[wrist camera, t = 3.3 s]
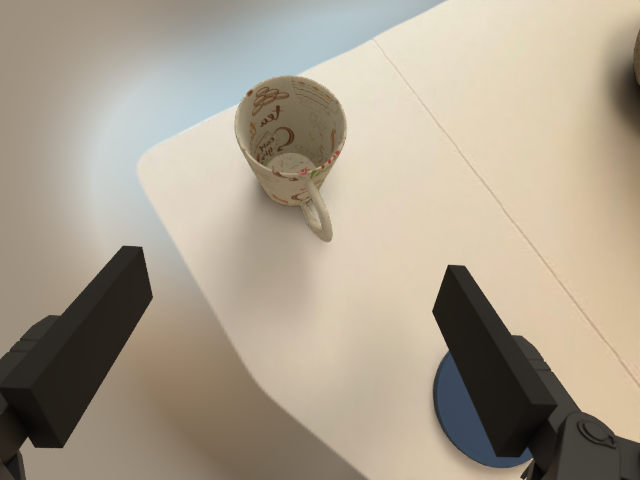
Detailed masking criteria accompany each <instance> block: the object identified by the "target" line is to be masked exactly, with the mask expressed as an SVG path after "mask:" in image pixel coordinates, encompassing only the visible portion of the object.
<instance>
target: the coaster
mask: <svg viewBox="0 0 640 480" xmlns="http://www.w3.org/2000/svg"><path fill="white" fill-rule="evenodd" d="M434 404H435V409H436V413H437V416H438V419H439V422H440V424H441V426H442V428H443V430H444V432H445V434H446V435H447V437H448V438H449V439H450V441H451V442H452V443H453V444H454V445H455V446H456V447H457V448H458V449H459V450H460V451H461V452H463V453H464V454H465V455H467V456H468V457H469V458H471V459H473V460H474V461H476V462H478V463H481V464H483V465H486V466H490V467H495V468H510V467H514V466H518V465H520V464H523V463H525V462H527V461H528V460H530V459H532V458H533V456H532V454H531V452H530V451H529V449H528V447H527V448H526V450H525V451H524V452H523V454H522V455H521V457H520V458H515V457H496V455H495V452H494V450H493V448H492V446H491V443H490V441H489V439H488V437H487V434H486V432H485V430H484V428H483V425H482V423H481V421H480V419H479V416H478V414H477V412H476V409H475V407H474V405H473V403H472V400H471V398H470V396H469V394H468V391H467V389H466V387H465V385H464V382H463V380H462V378H461V376H460V373H459V371H458V369H457V367H456V364H455V362H454V360H453V357H452V355H451V353H450V351H449V352H448V353H447V354H446V356H445V357H444V358H443V360H442V362H441V364H440V366H439V368H438V371H437V374H436V377H435V383H434Z"/></svg>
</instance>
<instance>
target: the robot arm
mask: <svg viewBox="0 0 640 480" xmlns="http://www.w3.org/2000/svg"><path fill="white" fill-rule="evenodd" d="M152 298H153V296H152V291H151V286H150V282H149V277H148V272H147V268H146V263H145V258H144V253H143V249H142V247H136V246H122V247H121V249H120V250H119V251H118V252H117V253H116V254H115V255H114V257H113V258H112V259H111V260H110V261H109V262H108V263H107V264H106V266H105V267H104V268H103V269H102V270H101V271H100V272H99V274H97V276H96V277H95V278H94V279H93V280H92V281H91V282H90V283H89V285H88V286H87V287H86V288H85V289H84V290H83V291H82V292H81V294H80V295H79V296H78V297H77V298H76V299H75V300H74V301H73V303H72V304H71V305H70V306H69V307H68V308H67V309H66V310H65V312H64V313H63V314H62V315H61V316H55V315H49V316H47V317H46V318H44V319H42V320H41V321H39V322H38V323H36V324H35V325H33V326H32V327H31V328H30V329H29V330H28V331H27V332H26V333H25V334H24V335H23V336H22V337H21V338H20V341H18V342H16V344H15V345H14V346H13V347H12V348H11V349H10V351H9V352H7V353H6V354H5V355H4V356H3V357H2V358H1V359H0V480H26V477H25V470H24V464H23V458H22V454H21V453H20V451H19V448H20V447H21V446H22V444H23V443H24V441H25V440H26V438H27V437H29V439H30V440H31V442H32V444H33V445H34V447H35V448H63V447H64V445H65V443H66V442H67V440H68V438H69V437H70V435H71V433H72V432H73V430H74V429H75V427H76V425H77V423H78V422H79V420H80V419H81V417H82V415H83V413H84V412H85V410H86V409H87V407H88V405H89V403H90V402H91V400H92V398H93V397H94V395H95V393H96V392H97V390H98V388H99V387H100V385H101V383H102V382H103V380H104V378H105V377H106V375H107V373H108V371H109V370H110V368H111V367H112V365H113V363H114V362H115V360H116V358H117V357H118V355H119V353H120V352H121V350H122V348H123V347H124V345H125V343H126V342H127V340H128V338H129V337H130V335H131V333H132V332H133V330H134V328H135V327H136V325H137V323H138V322H139V320H140V318H141V317H142V315H143V313H144V312H145V310H146V308H147V307H148V305H149V303H150V302H151V300H152ZM432 312H433V315H434V317H435V319H436V321H437V324H438V326H439V328H440V330H441V333H442V335H443V337H444V339H445V342H446V344H447V346H448V348H449V351H450V353H451V355H452V357H453V360H454V362H455V364H456V367H457V369H458V371H459V373H460V376H461V378H462V380H463V382H464V385H465V387H466V389H467V391H468V394H469V396H470V398H471V400H472V403H473V405H474V407H475V409H476V412H477V414H478V416H479V419H480V421H481V423H482V425H483V428H484V430H485V432H486V434H487V437H488V439H489V441H490V443H491V446H492V448H493V450H494V452H495V455H496V457H515V458H520V457H521V455H522V454H523V452H524V451H525V450H526V448H527V447H528V449H529V451H530V452H531V454H532V456H533V458H534V459H533V461H532V462H531V463H530V464H529V466H528V467H527V468H526V470H525V471H524V472H523V474H522V475H521V477H520V478H522V479H523V480H524V479H525V478H526V477H527V479H526V480H640V443H637V442H634V441H631V440H628V439H625V438H622V437H618V436H616V435H615V434H614V433H613V431H612V430H611V429H610V428H608V427H607V426H606V425H605V424H604V423H603V422H601V421H600V420H598V419H597V418H595V417H594V416H591V415H589V414H587V413H584V412H582V411H581V410H580V409H579V408H578V406H577V405H576V403H575V402H574V401H573V399H572V398H571V396H570V395H569V394H568V392H567V391H566V389H565V388H564V387H563V385H562V384H561V383H560V381H559V380H558V378H557V377H556V376H555V374H554V373H553V372H551V369H550V367H549V366H548V365H547V363H546V362H544V359H543V358H542V356H541V355H540V353H539V352H538V351H537V349H536V348H535V347H534V346H533V345H532V344H531V343H530V342H528V341H527V340H526V339H525V338H524V337H522V336H516V335H511V334H510V332H509V331H508V329H507V328H506V326H505V325H504V323H503V322H502V320H501V319H500V317H499V316H498V314H497V313H496V311H495V310H494V308H493V307H492V305H491V304H490V302H489V301H488V300H487V298H486V297H485V295H484V294H483V292H482V291H481V289H480V288H479V286H478V285H477V283H476V282H475V280H474V279H473V277H472V276H471V274H470V273H469V271H468V270H467V268H466V267H465V266H460V265H448V267H447V269H446V272H445V275H444V278H443V281H442V284H441V287H440V290H439V293H438V296H437V299H436V302H435V305H434V307H433V310H432Z"/></svg>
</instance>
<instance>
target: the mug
mask: <svg viewBox="0 0 640 480" xmlns="http://www.w3.org/2000/svg"><path fill="white" fill-rule="evenodd" d="M346 133H347V123H346V117H345V113H344V110H343V108H342V106H341V104H340V103H339V101H338V100H337V98H336V97H335V96H334V95H333V94H332V93H331V92H330V91H329V90H328V89H327V88H326V87H324V86H323V85H321V84H319V83H317V82H315V81H313V80H311V79H308V78H304V77H299V76H279V77H274V78H271V79H268V80H265V81H263V82H261V83H259V84H258V85H256V86H254V87H253V88H252V89H251V90H250V91H249V92H248V93H247V94H246V95H245V96H244V97H243V99H242V100H241V102H240V104H239V106H238V108H237V111H236V116H235V134H236V138H237V141H238V144H239V146H240V148H241V151H242V152H243V154H244V156H245V158H246V159H247V161H248V163H249V165H250V166H251V168H252V170H253V172H254V173H255V175H256V177H257V179H258V180H259V182H260V184H261V185H262V187H263V189H264V191H265V192H266V193H267V195H268V196H269V197H270V198H271V199H273V200H274V201H276V202H277V203H280V204H282V205H287V206H296V205H300V206H301V208H302V211H303V213H304V216H305V218H306V220H307V223H308V225H309V227H310V228H311V230H312V231H313V232H314V233H315V234H316V235H317V236H318V237H319V238H320V239H321V240H323V241H325V242H330V241H331V239H332V235H333V234H332V226H331V222H330V218H329V214H328V211H327V209H326V206H325V204H324V202H323V199H322V197H321V195H320V193H319V191H318V190H319V188H320V186H321V185H322V183H323V181H324V180H325V178H326V176H327V175H328V173H329V171H330V169H331V168H332V166H333V164H334V163H335V161H336V159H337V158H338V156H339V154H340V152H341V150H342V148H343V145H344V142H345V139H346ZM310 199H312V201H313V203H314V205H315V207H316V210H317V212H318V215H319V218H320V222H321V226H322V227H321V226H320V225H319V224H318V223H317V221H316V219H315V218H314V216H313V214H312V213H311V211H310V209H309V207H308V206H307V204H306V202H307V201H309V200H310Z"/></svg>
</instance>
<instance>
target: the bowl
mask: <svg viewBox="0 0 640 480" xmlns="http://www.w3.org/2000/svg"><path fill="white" fill-rule="evenodd" d="M634 70H635V75H636V79H637V82H638V84H639V85H640V30H639V33H638V36H637V40H636V44H635V48H634Z"/></svg>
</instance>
